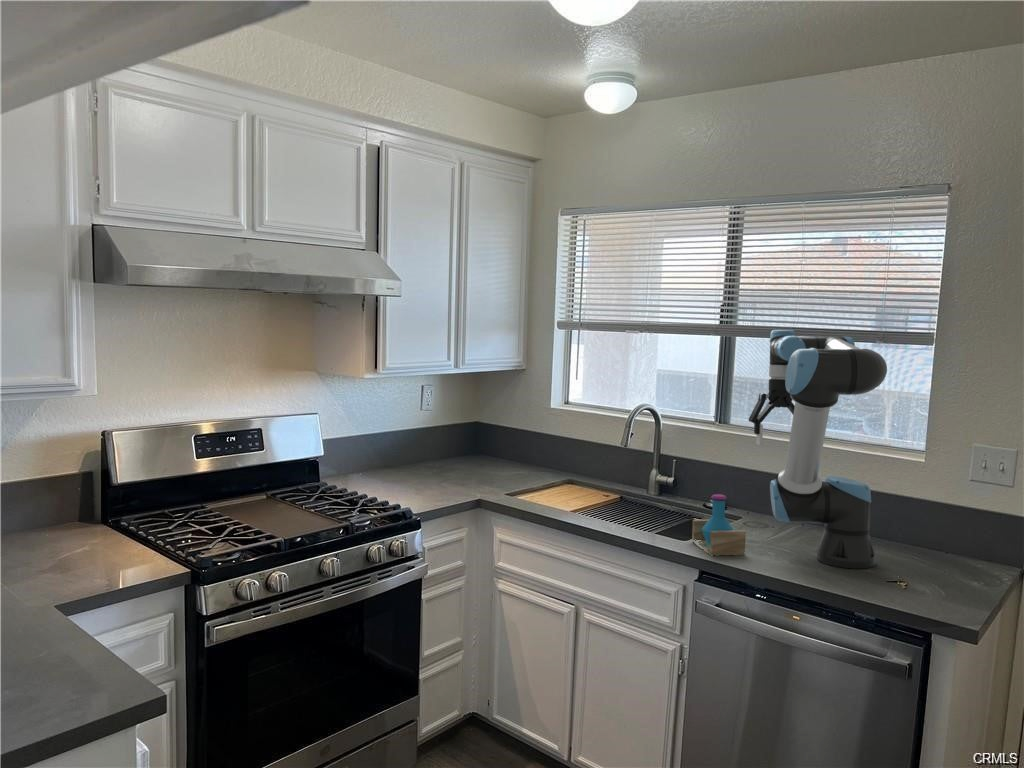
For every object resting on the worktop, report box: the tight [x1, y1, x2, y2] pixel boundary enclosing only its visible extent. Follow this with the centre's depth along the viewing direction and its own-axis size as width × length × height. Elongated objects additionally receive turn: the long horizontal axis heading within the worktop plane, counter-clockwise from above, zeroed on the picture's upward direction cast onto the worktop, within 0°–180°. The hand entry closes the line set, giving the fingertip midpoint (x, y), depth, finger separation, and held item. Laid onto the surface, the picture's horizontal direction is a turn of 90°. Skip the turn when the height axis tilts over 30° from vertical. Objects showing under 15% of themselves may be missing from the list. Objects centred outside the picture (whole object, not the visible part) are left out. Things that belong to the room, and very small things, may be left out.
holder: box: [691, 518, 747, 556], centre depth 224 cm, size 15×10×7 cm, turn 8°
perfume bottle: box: [702, 493, 734, 547], centre depth 224 cm, size 9×9×15 cm
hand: (779, 444), depth 242 cm, fingers open, 13 cm apart
